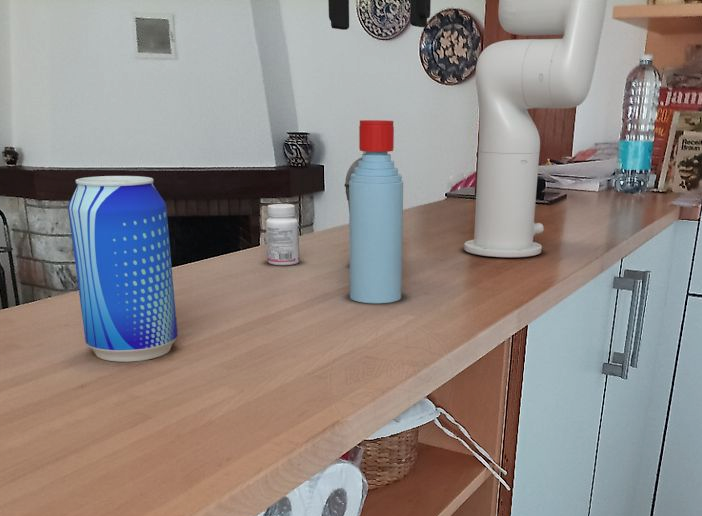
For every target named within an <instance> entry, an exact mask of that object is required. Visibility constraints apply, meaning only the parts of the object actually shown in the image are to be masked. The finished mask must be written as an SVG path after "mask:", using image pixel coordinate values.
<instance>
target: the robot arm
mask: <svg viewBox="0 0 702 516" xmlns="http://www.w3.org/2000/svg"><path fill="white" fill-rule="evenodd" d="M327 1H328V3H327V4H328V19H329V21H330V27H331V28H332V29H335V30H348V29H349V28H350V0H327ZM607 1H608V0H498V9H497V10H498V12H497V13H498V21H499V24H500V26H501V28H502V30H504V31H505V32H507V33H508V34H512V35H516V36H561V35H563V37H562V38H543V39H541V38H539V39H538V38H530V39H529V38H528V39H527V38H526V39H523V38H522V39H505V40H501V41H497V42H493V43H491V44H489V45H488V46H486V47H485V48H484V49H483V50H482V51H481V53H480V54H479V56H478V58H477V61H476V66H475V85H476V93H477V94H476V95H477V102H478V103H477V104H478V115H479V116H478V117H479V120H478V121H479V123H478V124H479V127H478V128H479V129H478V130H479V131H478V134H479V135H478V150H477V151H478V154H477V171H476V190H475V210H474V211H475V213H474V234H473V239H470V240H467V241H465V242H464V244H463V250H464V251H465V252H466V253H469V254H471V255H476V256H483V257H488V258H489V257H490V258H491V257H492V258H508V259H509V258H511V259H512V258H528V257H534V256H539V255H541V253H542V249H543V246H542V244H540V243H538V242H537V241H534V236H538V235H541V234H543V232H544V230H545V228H544V225H543V223H541V222H535V214H536V201H537V187H538V177H539V176H538V175H539V163H540V162H539V161H540V152H541V137H540V134H539V131H538V128H537V126H536V124H535V122H534V121H533V119H532V117H531V115H530V113H529V111H528V110H530V109H531V110H532V109H573V108H576V107H579V106H581V105H582V104H583V103H584V102H585V101H586V99H587V97H588V95H589V93H590V90H591V88H592V83H593V78H594V73H595V70H596V63H597V59H598V54H599V48H600V44H601V43H600V42H601V39H602V33H603V29H604V23H605V17H606V11H607V4H608V3H607ZM431 2H432V1H431V0H409V4H410V5H409V24H410V25H411V26H412V27H416V28H427V27H428V19H429V18H430V17H431V4H432V3H431Z"/></svg>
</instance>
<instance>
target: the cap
mask: <svg viewBox="0 0 702 516" xmlns="http://www.w3.org/2000/svg"><path fill="white" fill-rule="evenodd" d="M358 130H359V131H358V134H359V135H358V136H359V137H358V139H359V140H358V142H359V143H358V147H359V151H360V152H363V151H368V152H393V151H394V148H395V147H394V145H395V144H394V142H395V139H394V138H395V127H394V120H384V119H383V120H379V119H376V120H375V119H366V120H365V119H364V120H363V119H362V120H359V127H358Z"/></svg>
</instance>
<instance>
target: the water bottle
mask: <svg viewBox="0 0 702 516" xmlns="http://www.w3.org/2000/svg"><path fill="white" fill-rule="evenodd" d="M361 157H362V160H361V161H358V167H355V173H354V174H351V180H350V181H349V205H348V214H349V215H348V218H349V219H348V223H349V233H348V234H349V298H350V300H352V301H354V302H358V303H363V304H390V303H395V302H398V301H400V300H401V299H402V286H403V285H402V283H403V282H402V281H403V227H404V226H403V224H404V223H403V221H404V220H403V219H404V212H403V211H404V181H403V180H402V179H403V177H402V174H400V173H399V168H398V167H395V161H394V160H392V159H391V157H392V155H391V154H390V153H388V152H368V151H365V154H363V153H362V154H361Z"/></svg>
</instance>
